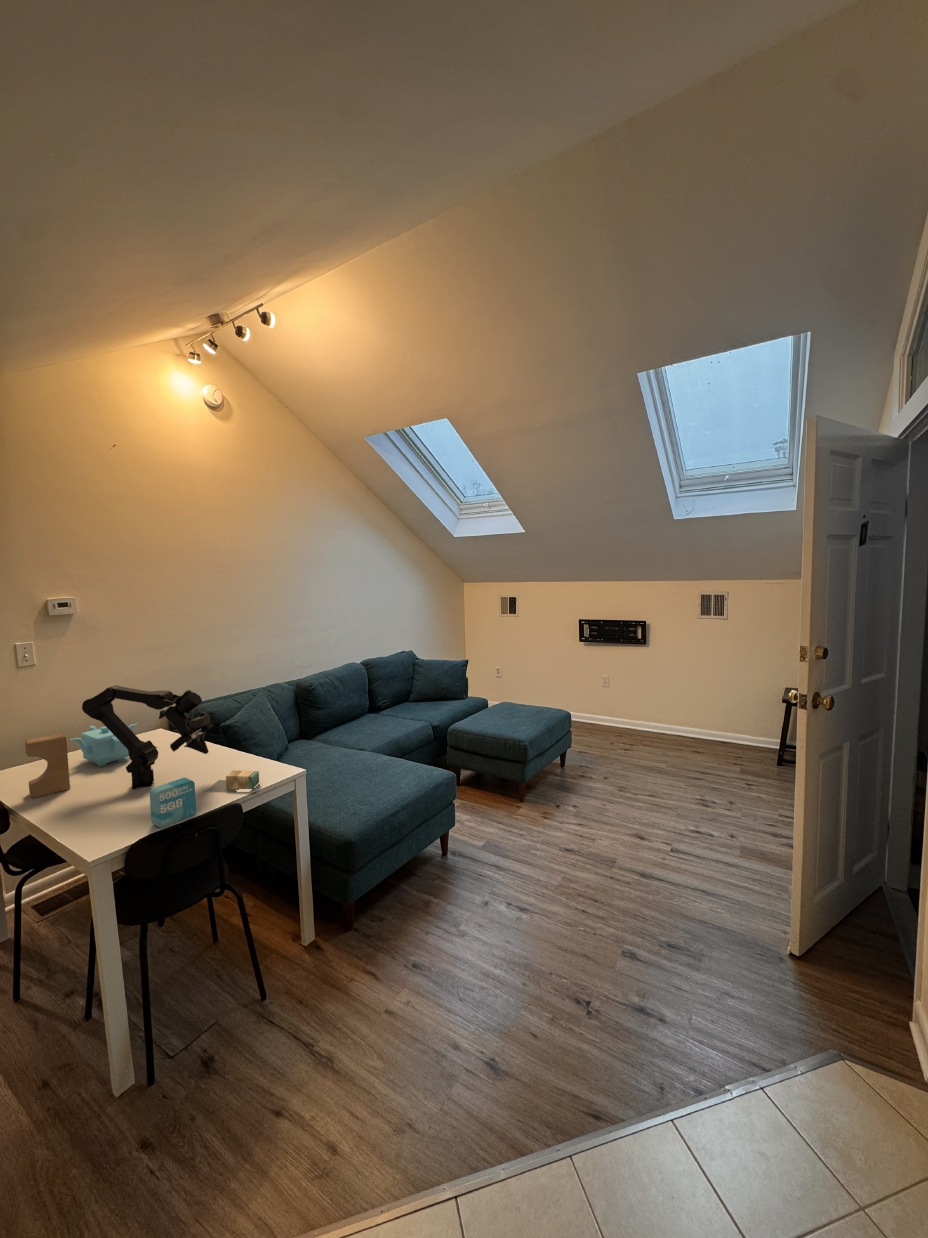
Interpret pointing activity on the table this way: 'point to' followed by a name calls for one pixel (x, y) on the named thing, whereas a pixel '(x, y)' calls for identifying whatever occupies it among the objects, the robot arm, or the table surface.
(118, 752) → the teakettle
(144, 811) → the table surface
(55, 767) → the decorative block
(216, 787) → the slate mat
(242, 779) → the maple block
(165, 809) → the data package
